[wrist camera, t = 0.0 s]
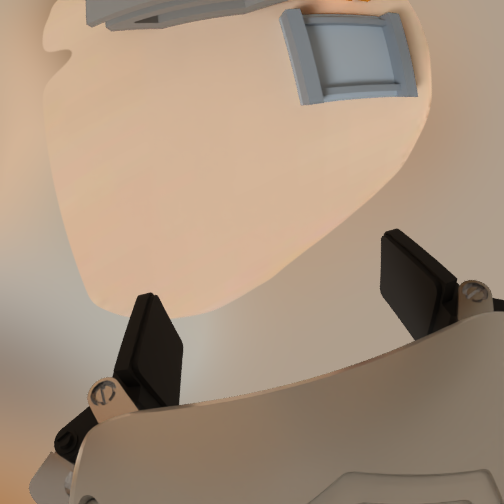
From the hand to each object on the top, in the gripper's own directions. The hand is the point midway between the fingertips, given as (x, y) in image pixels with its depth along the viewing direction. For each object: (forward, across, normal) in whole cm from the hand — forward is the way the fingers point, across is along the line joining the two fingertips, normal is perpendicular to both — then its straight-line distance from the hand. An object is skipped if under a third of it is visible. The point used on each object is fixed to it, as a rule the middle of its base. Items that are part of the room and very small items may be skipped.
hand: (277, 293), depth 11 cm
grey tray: (+31, -20, -13) cm, 39 cm away
